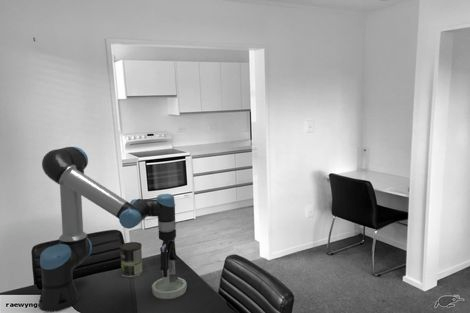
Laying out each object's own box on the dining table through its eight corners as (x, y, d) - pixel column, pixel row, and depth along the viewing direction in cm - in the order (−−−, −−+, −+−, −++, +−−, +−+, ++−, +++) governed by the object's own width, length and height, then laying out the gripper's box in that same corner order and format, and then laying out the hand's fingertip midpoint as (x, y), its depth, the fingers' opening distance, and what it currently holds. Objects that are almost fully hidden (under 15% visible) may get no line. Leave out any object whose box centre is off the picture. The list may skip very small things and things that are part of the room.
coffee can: (123, 279, 177) (122, 251, 175) (119, 271, 186) (118, 244, 184) (145, 274, 181) (143, 247, 180) (140, 266, 190) (138, 240, 189)
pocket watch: (174, 283, 159) (173, 262, 158) (156, 282, 161) (155, 260, 160) (181, 275, 167) (180, 254, 166) (163, 274, 169) (162, 253, 168)
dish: (147, 298, 159) (147, 291, 158) (158, 282, 173) (158, 276, 173) (181, 300, 157) (181, 293, 156) (189, 283, 171) (189, 277, 171)
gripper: (168, 238, 150) (170, 290, 153) (181, 222, 171) (183, 268, 174) (150, 237, 151) (153, 289, 154) (166, 221, 172) (168, 268, 175)
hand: (169, 278), depth 164 cm, fingers closed on pocket watch, 8 cm apart
